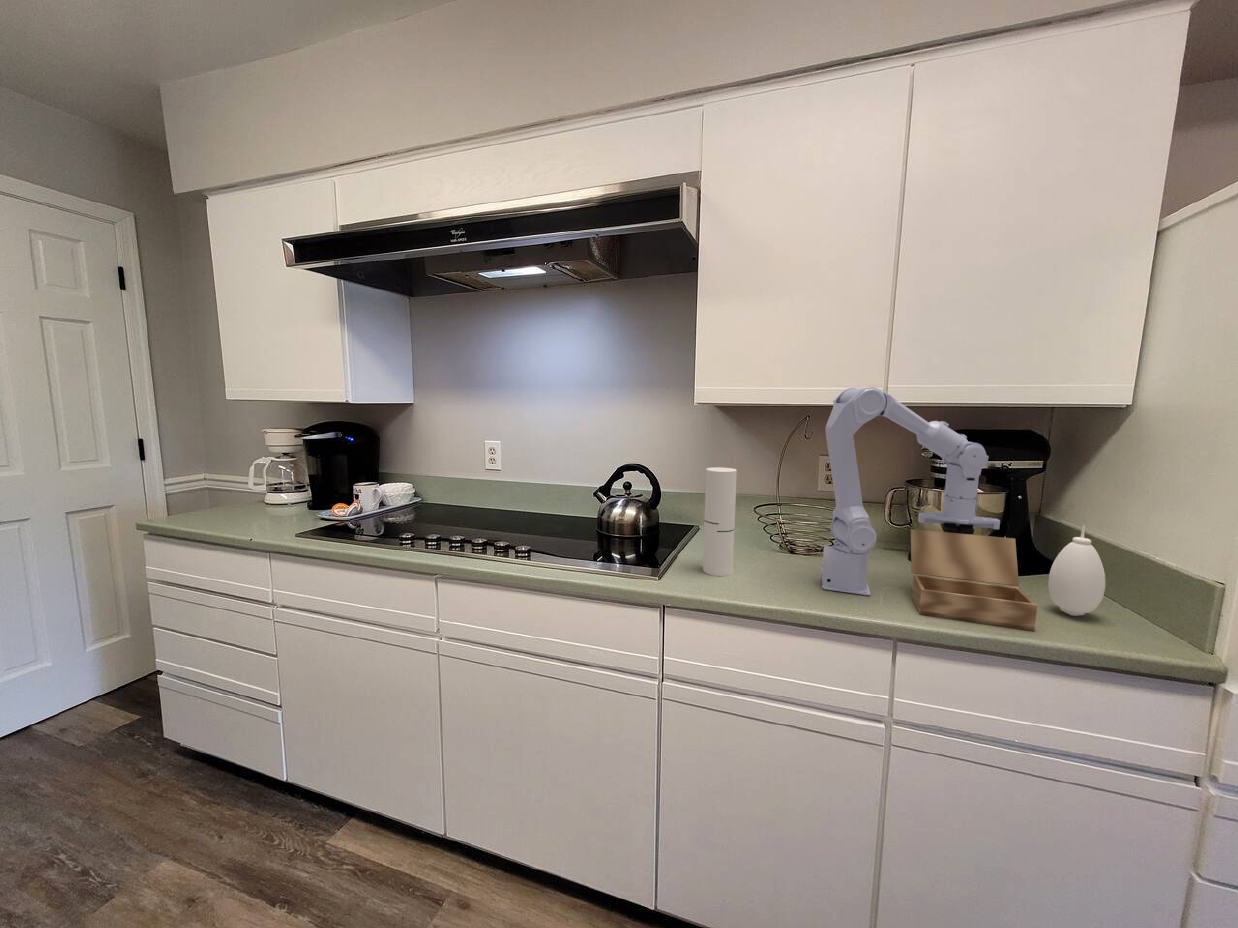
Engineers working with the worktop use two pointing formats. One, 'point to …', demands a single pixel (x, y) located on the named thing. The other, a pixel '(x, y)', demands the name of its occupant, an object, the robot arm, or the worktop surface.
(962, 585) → the box
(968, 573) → the lid
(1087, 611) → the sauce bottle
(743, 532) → the worktop surface
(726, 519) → the cylindrical container
